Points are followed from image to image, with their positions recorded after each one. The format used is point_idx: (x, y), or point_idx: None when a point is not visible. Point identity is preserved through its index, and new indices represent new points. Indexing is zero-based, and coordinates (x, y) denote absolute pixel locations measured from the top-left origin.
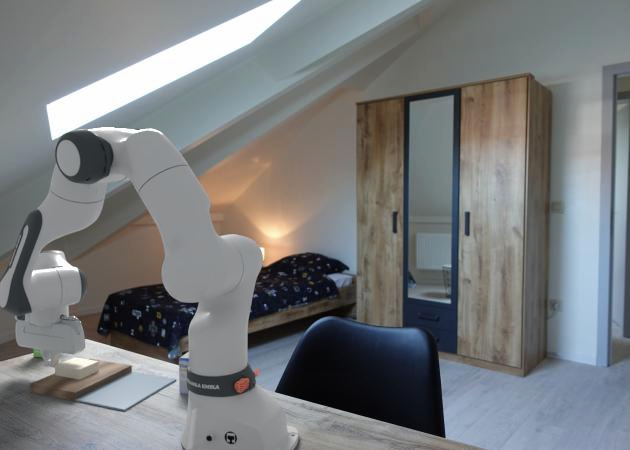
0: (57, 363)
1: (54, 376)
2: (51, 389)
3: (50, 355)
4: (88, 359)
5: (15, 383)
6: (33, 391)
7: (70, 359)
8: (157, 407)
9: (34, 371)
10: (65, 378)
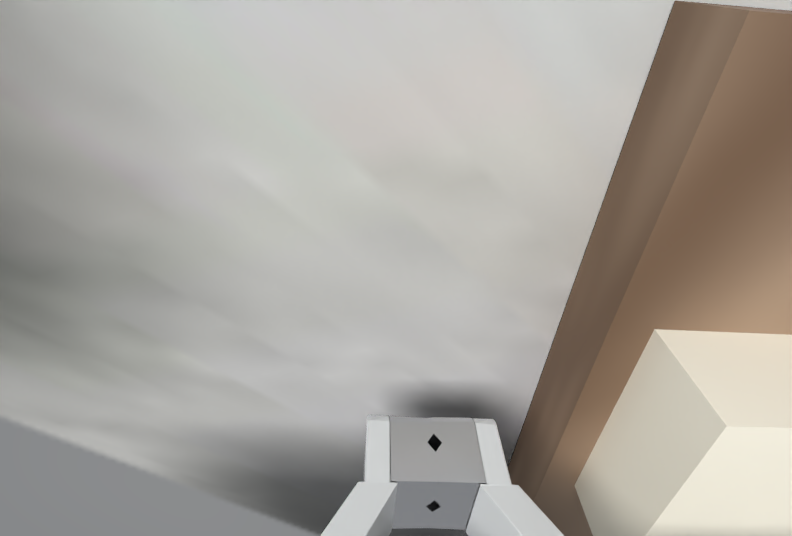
0: (498, 447)
1: None
2: None
3: (380, 518)
4: (727, 59)
5: (280, 485)
6: None
7: (701, 478)
8: None
9: (161, 326)
10: None
